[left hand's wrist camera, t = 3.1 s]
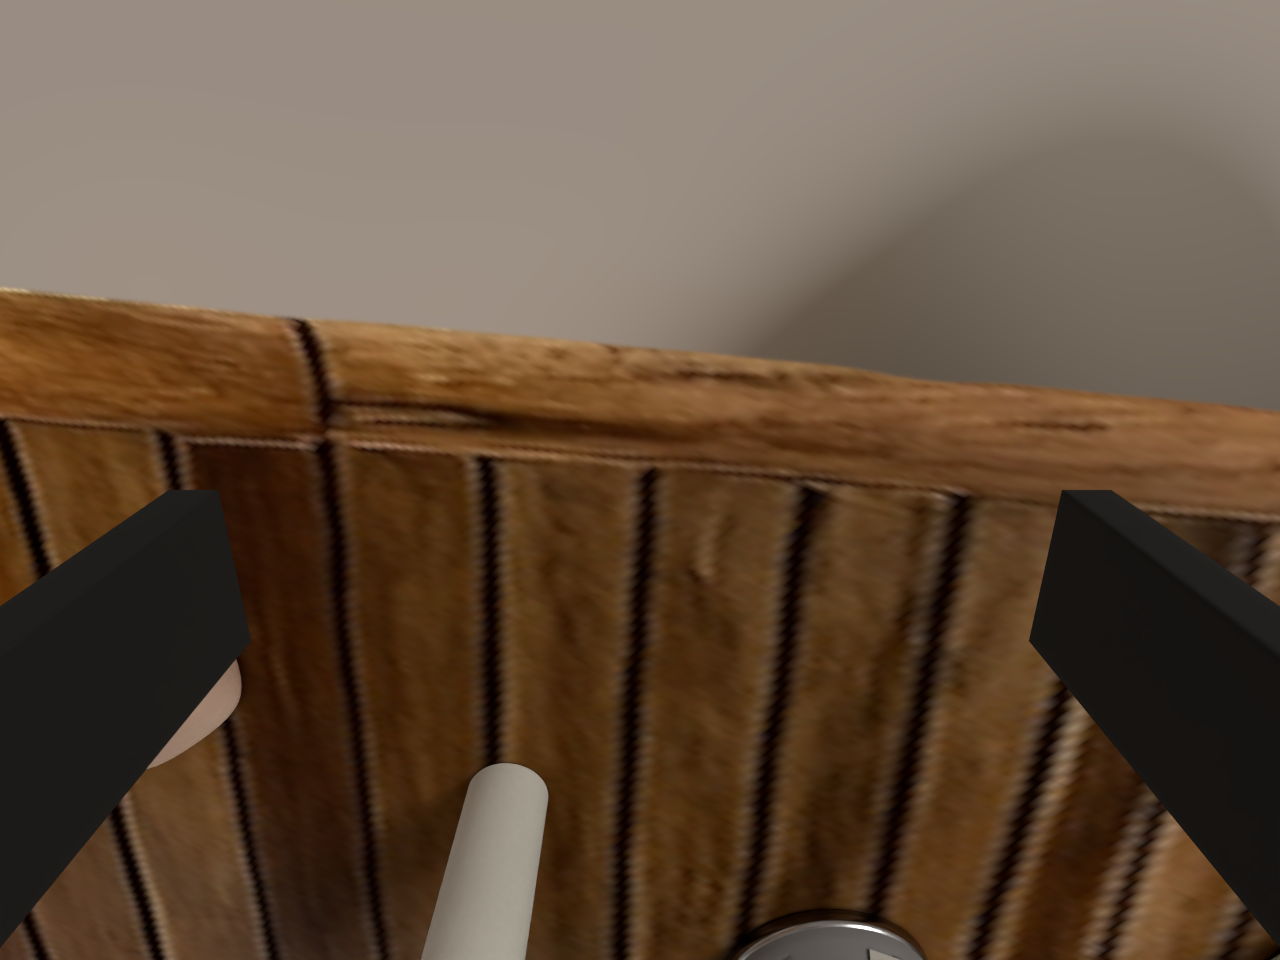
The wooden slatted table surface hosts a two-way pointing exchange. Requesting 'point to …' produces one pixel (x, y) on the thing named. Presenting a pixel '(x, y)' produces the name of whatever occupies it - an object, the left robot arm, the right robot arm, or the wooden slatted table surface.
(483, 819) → the bottle
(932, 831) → the wooden slatted table surface
